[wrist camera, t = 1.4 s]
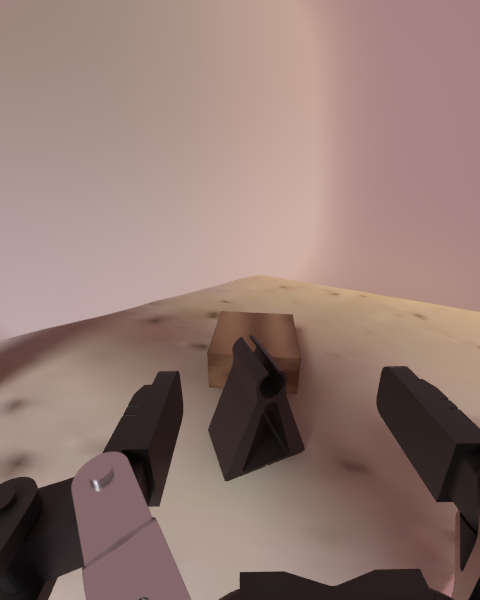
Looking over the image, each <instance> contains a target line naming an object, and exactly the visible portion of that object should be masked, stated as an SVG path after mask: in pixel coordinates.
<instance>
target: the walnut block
mask: <svg viewBox="0 0 480 600" xmlns="http://www.w3.org/2000/svg"><path fill="white" fill-rule="evenodd" d="M250 335H253V336H255V337H256V338H257V339H258V340H259V341H260V343H261V344H262V345H263V346H264V348H265V349H266V350H267V351H268V352H269V354H270V355H271V356H272V357H273V359H274V360H275V361H276V362H277V364H278V365H279V366H280V367H281V368H282V370H283V371H284V372H285V373H286V375H287V377H288V382H287V386H286V392H287V393H297V386H298V377H299V369H300V361H301V357H300V352H299V346H298V341H297V336H296V330H295V325H294V319H293V315H290V314H268V313H246V312H224V311H221V314H220V317H219V320H218V323H217V326H216V329H215V332H214V335H213V338H212V341H211V344H210V347H209V350H208V353H207V355H208V373H209V387H215V388H224V386H225V383H226V381H227V378H228V375H229V373H230V370H231V367H232V364H233V353H232V348H233V345H234V343H235V342H236V341H237V340H238V339H239V338H240V337H242V338H243V339H244V340H245V342H246V343H247V344H248V346H249V347H250V348H251V350H252V351H253V352H254V351H255V349H256V345H255V344H254V343H253V341H252V340H251V339H250Z"/></svg>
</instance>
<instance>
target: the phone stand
mask: <svg viewBox="0 0 480 600" xmlns="http://www.w3.org/2000/svg"><path fill="white" fill-rule="evenodd" d="M250 339H251V340H252V341H253V343H254V344H255V345H256V349H255V351H254V352H253V351H252V350H251V348H250V347H249V346H248V344H247V343H246V342H245V340H244V339H243V338H242V337H240V338H239V339H238V340H237V341H236V342H235V343H234V345H233V348H232V353H233V364H232V367H231V370H230V373H229V375H228V378H227V381H226V383H225V386H224V389H223V391H222V394H221V397H220V399H219V402H218V405H217V407H216V410H215V413H214V415H213V418H212V421H211V424H210V426H209V429H208V431H209V434H210V437H211V440H212V443H213V446H214V449H215V452H216V455H217V458H218V461H219V464H220V467H221V470H222V473H223V476H224V479H225V481H229V480H232V479H234V478H237V477H239V476H242V475H244V474H247V473H250V472H252V471H255V470H257V469H260V468H262V467H265V465H267V464H268V465H270V464H272V463H275V462H278V461H280V460H283V459H285V458H288V457H290V456H293V455H295V454H298V453H301V452H303V451H304V449H305V448H304V445H303V442H302V439H301V437H300V434H299V431H298V428H297V426H296V423H295V420H294V417H293V414H292V412H291V409H290V406H289V403H288V401H287V398H286V386H287V382H288V377H287V375H286V373H285V372H284V371H283V370H282V368H281V367H280V366H279V365H278V364H277V362H276V361H275V360H274V359H273V357H272V356H271V355H270V354H269V352H268V351H267V350H266V349H265V348H264V346H263V345H262V344H261V343H260V341H259V340H258V339H257V338H256V337H255V336H253V335H250ZM263 410H264V412H263ZM262 412H263V413H262Z"/></svg>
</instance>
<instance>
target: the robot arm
mask: <svg viewBox="0 0 480 600" xmlns="http://www.w3.org/2000/svg"><path fill="white" fill-rule="evenodd" d="M377 408H378V411H379V414H380V416H381V417H382V419H383V420H384V422H385V423H386V425H387V426H388V428H389V430H390V431H391V433H392V434H393V436H394V437H395V439H396V440H397V442H398V443H399V445H400V446H401V448H402V450H403V451H404V453H405V454H406V456H407V457H408V459H409V460H410V462H411V463H412V465H413V466H414V468H415V470H416V471H417V473H418V474H419V476H420V477H421V479H422V480H423V482H424V483H425V485H426V486H427V488H428V489H429V491H430V493H431V494H432V496H433V497H434V499H435V500H436V502H454V503H455V505H456V506H457V508H458V510H457V513H456V522H455V581H454V589H453V593H452V598H450V597H449V596H447V595H445V594H443V593H440V592H438V591H436V590H433V589H431V588H429V587H428V585H427V583H426V581H425V579H424V577H423V575H422V573H421V570H420V569H391V570H374V571H371V572H369V573H366V574H364V575H362V576H359V577H357V578H354V579H352V580H350V581H347V582H345V583H342V584H340V585H337V586H329V585H325V584H322V583H319V582H316V581H313V580H309V579H306V578H303V577H300V576H297V575H293V574H290V573H287V572H284V571H283V572H240V589H237V590H235V591H233V592H230V593H229V594H227V595H225V596H224V597H222V598H220V599H219V600H480V428H479V427H478V426H477V425H475V424H474V423H473V422H472V421H471V420H470V419H469V418H468V417H467V416H466V415H465V414H464V413H463V412H462V411H461V410H458V407H457V406H456V405H455V404H453V403H452V402H451V401H449V400H448V398H447V397H446V396H445V395H444V394H443V393H442V392H441V391H440V390H439V389H438V388H436V387H435V386H433V385H431V384H430V383H428V382H426V381H425V380H423V379H419V378H418V377H417V376H416V375H415V374H414V373H413V372H412V371H411V370H410V369H409V368H408V367H406V366H390V367H384V368H383V369H382V372H381V377H380V383H379V388H378V393H377ZM182 417H183V397H182V389H181V381H180V374H179V372H178V371H159V372H158V374H157V376H156V378H155V380H154V382H153V384H152V385H144V386H143V387H142V388H141V389H139V390H138V391H137V392H136V393H135V394H134V395H133V397H132V399H131V401H130V403H129V405H128V407H127V408H126V410H125V412H124V414H123V417H122V418H121V420H120V421H119V423H118V425H117V427H116V429H115V431H114V433H113V434H112V436H111V438H110V440H109V442H108V444H107V446H106V447H105V449H104V451H103V453H102V454H100V455H98V456H96V457H94V458H92V459H91V460H89V461H88V462H87V463H85V464H84V465H83V466H82V467H81V468H80V469H79V471H78V472H77V473H76V475H75V477H73V478H70V479H67V480H64V481H61V482H58V483H54V484H51V485H48V486H45V487H41V488H38V487H37V485H36V482H35V481H34V480H33V479H31V478H29V477H18V478H14V479H11V480H8V481H6V482H3V483H1V484H0V600H48V598H49V596H50V594H51V592H52V589H53V587H54V585H55V582H56V580H57V578H58V577H59V576H62V575H64V574H67V573H69V572H71V571H74V570H76V569H79V568H81V567H83V568H82V575H83V583H84V590H85V596H86V600H191V598H190V596H189V593H188V591H187V589H186V586H185V584H184V582H183V579H182V577H181V575H180V572H179V570H178V568H177V565H176V563H175V561H174V558H173V556H172V554H171V551H170V549H169V547H168V544H167V542H166V540H165V537H164V535H163V533H162V530H161V528H160V526H159V524H158V522H157V520H156V518H155V517H154V518H153V517H152V515H151V513H150V511H149V508H148V507H153V506H160V502H161V498H162V494H163V490H164V487H165V483H166V479H167V475H168V471H169V467H170V464H171V460H172V456H173V452H174V448H175V444H176V441H177V437H178V433H179V429H180V425H181V421H182Z"/></svg>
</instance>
